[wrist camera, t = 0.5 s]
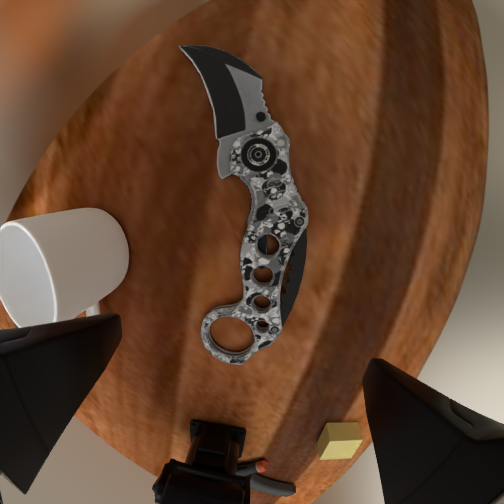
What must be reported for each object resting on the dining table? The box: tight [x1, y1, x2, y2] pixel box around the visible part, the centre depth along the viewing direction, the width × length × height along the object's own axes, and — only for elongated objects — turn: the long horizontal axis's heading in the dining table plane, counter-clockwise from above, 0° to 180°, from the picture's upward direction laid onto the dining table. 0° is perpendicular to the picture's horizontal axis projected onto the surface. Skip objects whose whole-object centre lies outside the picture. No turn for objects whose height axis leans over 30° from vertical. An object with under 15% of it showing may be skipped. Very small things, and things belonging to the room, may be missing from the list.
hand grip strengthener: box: [236, 460, 296, 497], centre depth 28 cm, size 2×13×15 cm
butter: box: [317, 422, 363, 460], centre depth 24 cm, size 4×4×3 cm
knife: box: [179, 45, 308, 365], centre depth 20 cm, size 28×2×10 cm
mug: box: [0, 208, 129, 328], centre depth 18 cm, size 12×8×10 cm
